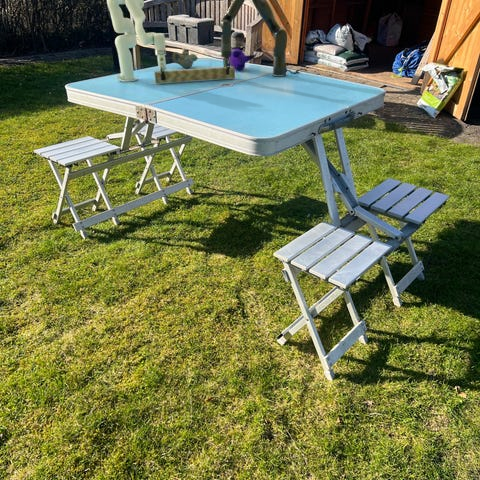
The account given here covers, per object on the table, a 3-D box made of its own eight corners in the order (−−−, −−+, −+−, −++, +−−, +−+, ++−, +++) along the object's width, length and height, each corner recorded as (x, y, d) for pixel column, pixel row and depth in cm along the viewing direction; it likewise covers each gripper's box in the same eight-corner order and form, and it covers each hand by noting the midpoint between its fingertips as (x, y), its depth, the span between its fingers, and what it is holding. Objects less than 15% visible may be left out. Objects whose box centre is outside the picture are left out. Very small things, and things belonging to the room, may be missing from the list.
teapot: (196, 65, 393) (195, 47, 386) (199, 67, 384) (198, 49, 376) (172, 67, 388) (170, 48, 380) (175, 69, 378) (173, 50, 370)
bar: (155, 83, 326) (154, 72, 322) (155, 82, 330) (154, 71, 326) (234, 78, 339) (234, 67, 335) (233, 76, 342) (233, 66, 339)
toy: (240, 72, 359) (228, 71, 382) (259, 65, 362) (246, 64, 386) (234, 52, 351) (222, 52, 375) (253, 45, 354) (241, 45, 378)
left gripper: (167, 53, 313) (169, 81, 322) (164, 50, 327) (166, 76, 336) (156, 54, 311) (159, 81, 320) (154, 51, 325) (156, 77, 334)
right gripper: (233, 50, 324) (234, 75, 333) (228, 48, 336) (229, 72, 345) (223, 51, 323) (224, 76, 331) (219, 48, 334) (220, 72, 343)
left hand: (163, 78), depth 328 cm, fingers closed on bar, 4 cm apart
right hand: (226, 73), depth 338 cm, fingers closed on bar, 4 cm apart
